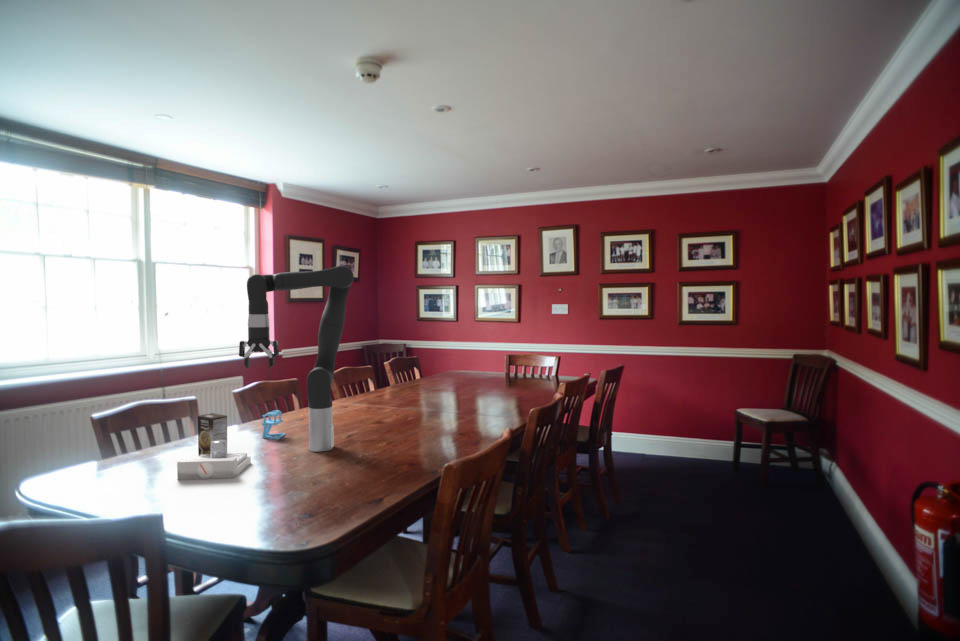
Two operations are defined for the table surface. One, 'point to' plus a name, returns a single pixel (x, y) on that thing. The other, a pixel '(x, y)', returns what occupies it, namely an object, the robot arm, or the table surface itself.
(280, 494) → the table surface
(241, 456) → the platter
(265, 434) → the chair
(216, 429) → the coffee box
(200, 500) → the table surface
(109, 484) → the table surface
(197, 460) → the scale
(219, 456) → the small grey jar
